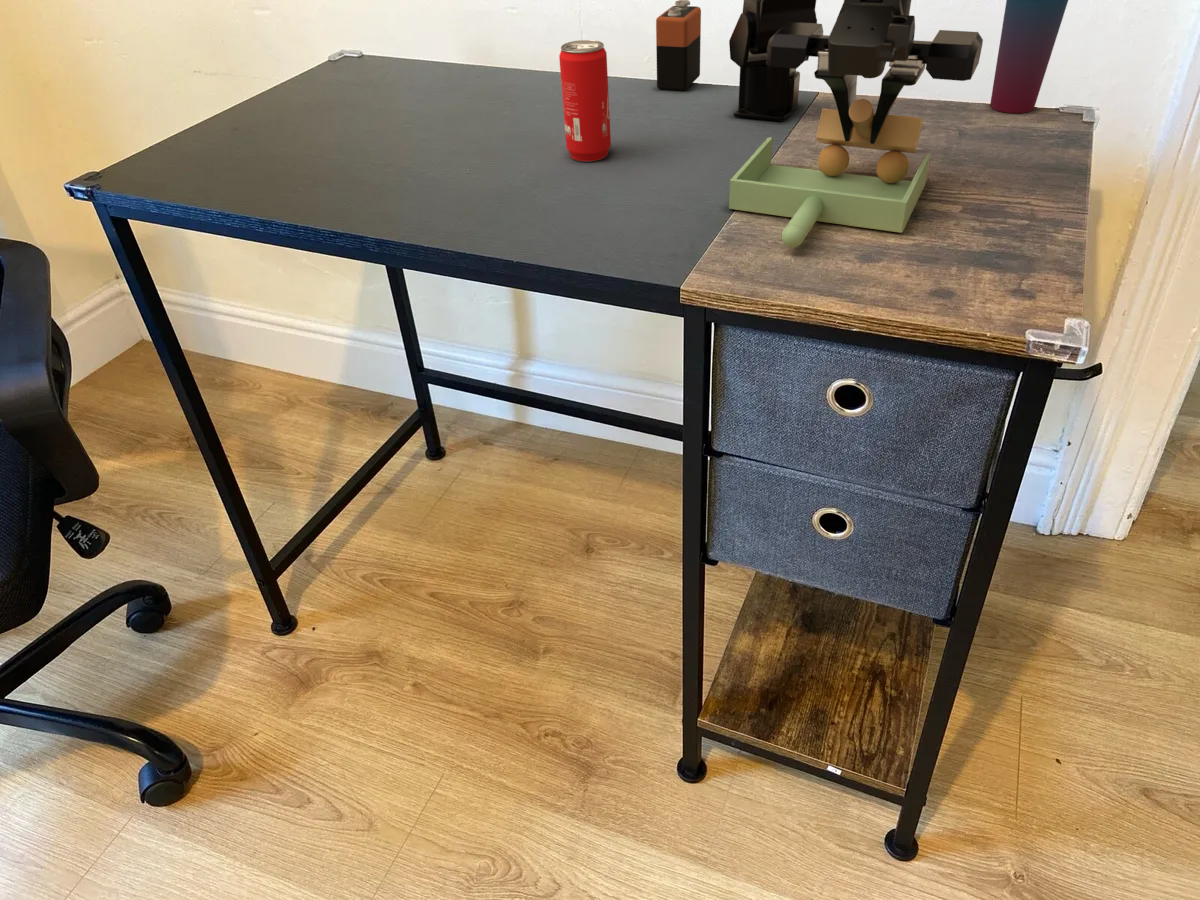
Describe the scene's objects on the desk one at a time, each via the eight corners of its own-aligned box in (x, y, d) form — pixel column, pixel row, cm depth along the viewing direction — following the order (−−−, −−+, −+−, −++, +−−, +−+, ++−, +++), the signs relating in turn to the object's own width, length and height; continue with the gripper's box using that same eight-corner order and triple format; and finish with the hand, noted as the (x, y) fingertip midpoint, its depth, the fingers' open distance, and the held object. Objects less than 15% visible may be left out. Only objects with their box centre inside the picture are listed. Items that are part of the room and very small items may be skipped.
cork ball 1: (814, 154, 91) (823, 136, 93) (814, 180, 94) (822, 163, 95) (845, 157, 90) (853, 139, 92) (844, 183, 92) (851, 166, 94)
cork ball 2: (873, 161, 89) (880, 143, 90) (872, 188, 91) (879, 170, 93) (906, 163, 88) (913, 145, 89) (904, 190, 90) (910, 172, 92)
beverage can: (568, 147, 105) (560, 40, 97) (611, 145, 104) (606, 38, 97) (565, 164, 101) (556, 53, 93) (610, 162, 100) (605, 51, 93)
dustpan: (766, 165, 97) (768, 136, 95) (925, 184, 91) (930, 154, 89) (700, 244, 83) (701, 212, 81) (882, 273, 77) (888, 239, 75)
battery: (700, 76, 123) (702, -2, 117) (686, 91, 119) (686, 11, 112) (671, 75, 125) (671, -3, 119) (655, 89, 120) (654, 10, 114)
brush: (820, 145, 94) (805, 121, 86) (826, 116, 93) (812, 89, 85) (916, 155, 90) (910, 131, 82) (923, 125, 90) (918, 98, 81)
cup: (1046, 116, 104) (1083, -25, 94) (986, 115, 105) (1016, -24, 96) (1036, 97, 109) (1071, -38, 100) (978, 97, 110) (1007, -37, 101)
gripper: (752, -18, 75) (744, 160, 85) (982, -10, 68) (944, 183, 78) (789, -44, 83) (778, 122, 93) (999, -39, 76) (963, 140, 86)
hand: (860, 141), depth 87 cm, fingers closed on brush, 2 cm apart
